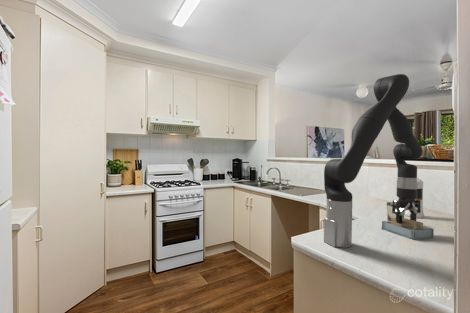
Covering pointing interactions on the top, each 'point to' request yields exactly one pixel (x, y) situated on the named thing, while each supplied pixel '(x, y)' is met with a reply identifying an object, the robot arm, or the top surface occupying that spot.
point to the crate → (408, 231)
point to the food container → (389, 211)
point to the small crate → (408, 224)
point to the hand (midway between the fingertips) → (406, 222)
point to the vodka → (419, 197)
